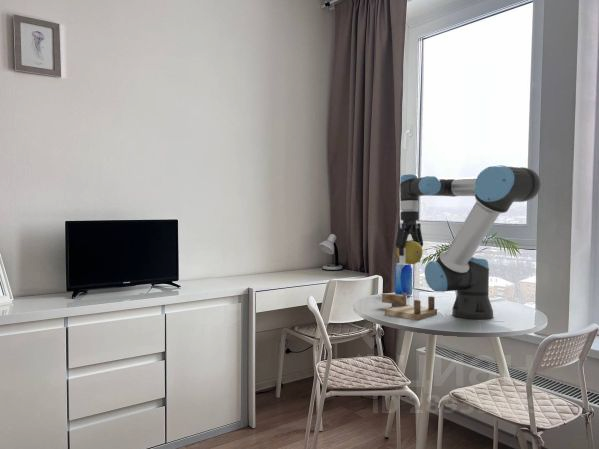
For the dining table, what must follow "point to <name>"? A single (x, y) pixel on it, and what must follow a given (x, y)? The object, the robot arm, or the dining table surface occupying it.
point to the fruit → (412, 252)
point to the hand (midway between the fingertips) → (410, 262)
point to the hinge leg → (394, 298)
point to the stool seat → (413, 310)
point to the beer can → (403, 279)
